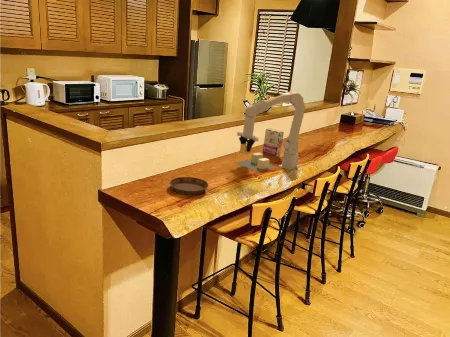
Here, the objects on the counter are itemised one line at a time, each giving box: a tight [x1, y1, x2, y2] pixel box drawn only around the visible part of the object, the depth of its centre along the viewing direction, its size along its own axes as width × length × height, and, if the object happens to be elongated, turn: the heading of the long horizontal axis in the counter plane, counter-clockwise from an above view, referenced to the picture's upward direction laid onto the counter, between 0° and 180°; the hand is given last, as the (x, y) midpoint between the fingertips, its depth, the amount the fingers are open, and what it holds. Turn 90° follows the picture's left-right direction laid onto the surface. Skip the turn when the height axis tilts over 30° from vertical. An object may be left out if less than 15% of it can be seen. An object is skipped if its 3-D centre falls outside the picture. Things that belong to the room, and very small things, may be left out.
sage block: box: [251, 152, 264, 164], centre depth 220 cm, size 6×4×5 cm, turn 135°
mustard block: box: [239, 142, 253, 155], centre depth 212 cm, size 6×4×5 cm, turn 135°
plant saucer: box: [169, 176, 209, 196], centre depth 170 cm, size 18×18×3 cm
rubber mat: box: [233, 159, 277, 173], centre depth 215 cm, size 18×18×1 cm
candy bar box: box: [262, 128, 284, 158], centre depth 239 cm, size 11×5×16 cm, turn 47°
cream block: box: [257, 157, 270, 169], centre depth 211 cm, size 6×4×5 cm, turn 135°
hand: (245, 150), depth 212 cm, fingers closed on mustard block, 3 cm apart
